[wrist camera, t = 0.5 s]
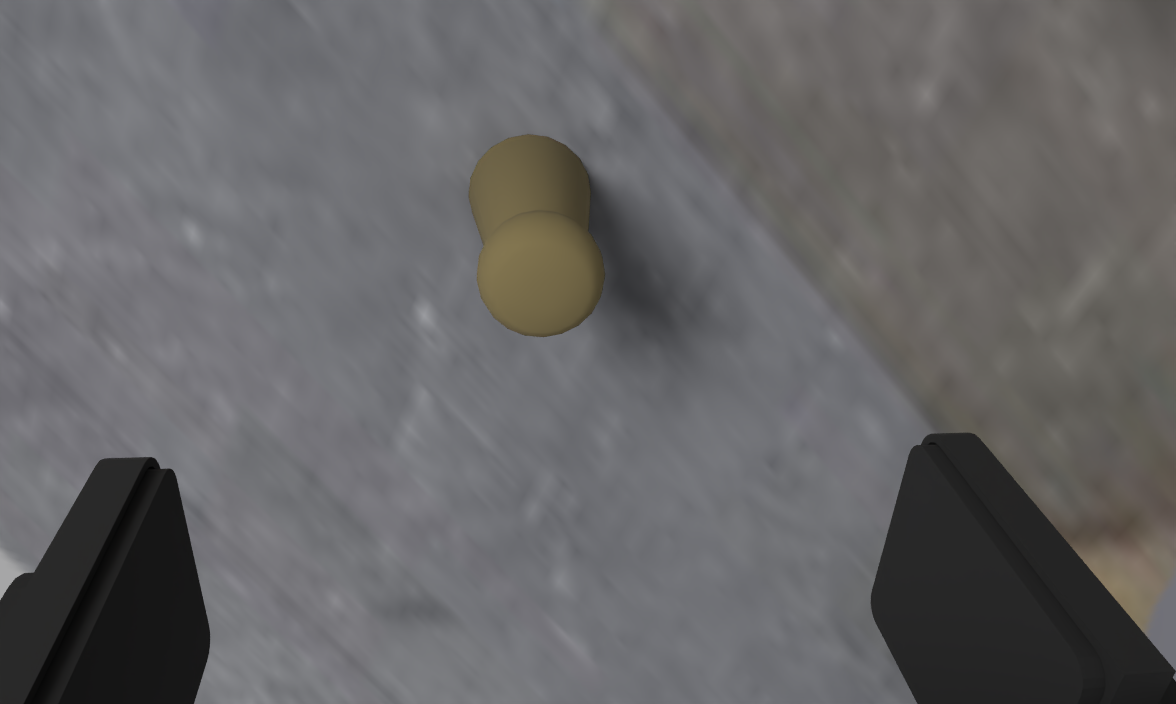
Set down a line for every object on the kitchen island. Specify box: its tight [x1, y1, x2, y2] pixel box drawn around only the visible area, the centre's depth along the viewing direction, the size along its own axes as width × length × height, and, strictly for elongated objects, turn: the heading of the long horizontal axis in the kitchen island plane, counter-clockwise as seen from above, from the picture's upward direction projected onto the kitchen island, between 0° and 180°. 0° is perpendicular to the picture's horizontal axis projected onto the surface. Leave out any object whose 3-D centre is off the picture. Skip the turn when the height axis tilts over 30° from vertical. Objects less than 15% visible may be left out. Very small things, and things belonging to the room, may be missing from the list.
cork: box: [469, 134, 605, 337], centre depth 40 cm, size 6×6×11 cm
